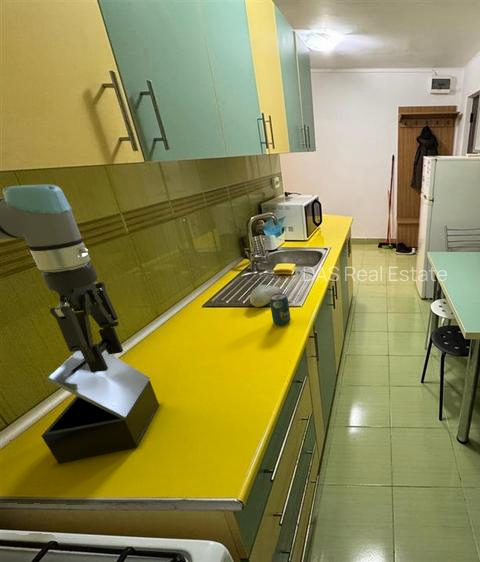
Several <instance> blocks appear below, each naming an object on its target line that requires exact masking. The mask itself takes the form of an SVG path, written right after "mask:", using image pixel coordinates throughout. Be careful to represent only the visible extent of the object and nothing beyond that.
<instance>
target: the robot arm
mask: <svg viewBox="0 0 480 562" xmlns="http://www.w3.org/2000/svg"><path fill="white" fill-rule="evenodd" d="M2 194H3V196H4V197H0V240H4V239H5V240H8V239H24V240H25V242H26V244H27V247H28V249H29V251H30V253H31V256H32V258H33V261H34V262H35V264H36V267H37V269H38V270H40V271H42V272H41V276H42V278H43V281H44V283H45V285H46V287H47V289H49V290H50V291H53V292H56V294H57V295H58V301H59V304H58V305H57V306H54V307H50V308H49V312H50V314H51V315H52V316H53V318H55V321H56V322H57V325H58V327H59V330H60V333H61V335H62V337H63V339H64V342H65V345H66V346H67V350H68V351H69V352H70V353H73V352H74V353H75V352H76V351H81V353H82V355H83V357H84V359H85V361H86V362H87V364H88V366H89V368H90V370H91V372H92V373H94V372H101V371H107V369H108V367H107V364H106V362H105V360H104V358H103V355H102V353H101V351H100V349H99V346H98V343H94V338H93V333H92V327H91V322H90V316H91V318H92V319H93V320H94V321H95V323H96V324H97V325H98V327H99V328H100V329H98V333H99V336H100V338H101V340H102V339H108V340H109V341H110V345H109V346H108V347H107V348H106V349H105V351H107V352H108V354H112V355H115V354H122V353H123V352H124V349H123V346H122V344H121V342H120V339H119V335H118V334H117V332H116V329H115V327H119V321H118V318H119V317H118V315H117V313H116V310H115V308H114V305H113V304H112V301H111V299H110V297H109V295H108V293H107V289H106V284H105V281H97V280H98V279H99V277H98V273H97V272H96V269H95V266H94V264H93V263H91V262H90V261H91V258H90V254H89V253H88V252H89V249H88V248H87V247H86V244H85V242H84V239H83V237H82V234H81V232H80V229H79V227H78V224H77V222H76V219H75V216H74V214H73V213H74V212H73V210H72V206H71V205H70V203H69V201H68V199H67V197H66V196H65V193H64V192H63V189H62V188H60V187H59V186H58V185H55V184H51V183H50V184H47V183H46V184H44V183H43V184H24V185H23V184H22V185H12V186H11V185H10V186H6V187H4V188H3V189H2ZM89 315H90V316H89Z"/></svg>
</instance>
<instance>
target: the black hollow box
mask: <svg viewBox="0 0 480 562" xmlns="http://www.w3.org/2000/svg"><path fill="white" fill-rule="evenodd" d="M159 407H160V403H159V400H158V398H157V395H156V393H155V390H154V387H153V385H152V382H151V380H150V379H149V381H148V383H147V384H146V386H145V387H144V389H143V391H142V392H141V394H140V395H139V397H138V399H137V400H136V402H135V403H134V405H133V407H132V408H131V410H130V411H129V413H128V415H127V416H126V418H124V419H121V418H119V417H117V416H115V415H113V414H111V413H109V412H107V411H105V410H103V409H101V408H99V407H98V406H96V405H94V404H92V403H90V402H88V401H86V400H84V399H82V398H80V397H78V396H76V395H75V396H74V398H73V399H72V400H71V401H70V403H69V404H68V405H67V406H66V407H65V408H64V409H63V410H62V412H61V413H60V414H59V415H58V416H57V417H56V418H55V419H54V420H53V422H52V423H51V424H50V425H49V427H48V428H47V429H45V430H44V432H43V433H42V434H40V435H41V438H42V440H43V441H44V443H45V445H46V446H47V448H48V449H49V451H50V453H51V454H52V456H53V458H54V459H55V461H56V462H57V464H64V463H69V462H75V461H79V460H84V459H88V458H93V457H99V456H104V455H108V454H112V453H118V452H123V451H128V450H133V449H137V448H138V447H139V446H140V444H141V442H142V440H143V438H144V436H145V434H146V432H147V430H148V428H149V426H150V424H151V423H152V421H153V418H154V417H155V415H156V413H157V411H158V409H159Z"/></svg>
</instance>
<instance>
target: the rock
mask: <svg viewBox="0 0 480 562" xmlns="http://www.w3.org/2000/svg"><path fill="white" fill-rule="evenodd" d="M281 290H282V289H281V288H280V286H276V285H270V284H261V285H257V286H256V287H255V288H253V290H252V291H251V292H250V294H249V302H250V304H251V305H252V306H253V307H256V308H260V307H264V306H267V305H268V304H270V300H271V296H272V295H275V294H280V293H281Z"/></svg>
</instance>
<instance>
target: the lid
mask: <svg viewBox="0 0 480 562" xmlns="http://www.w3.org/2000/svg"><path fill="white" fill-rule="evenodd" d="M97 344H98V346H99V349H100V351H101V353H102V355H103V358H104V360H105V362H106V364H107V367H108V369H107V371H101V372H94V373H92V372H91V370H90V368H89V366H88V364H87V362H86V361H85V359H84V357H83V355H82V353H81V351H74V353H72V354H71V355H70V356H69V357H68V358H67V359H66V360H65V361H64V362H63V363H61V365H60V366H58V367H57V368H56V369H55V370H54V371H52V373H51V374H49V376H47V378H45V381H47V382H49V383H51V384H53V385H55V386H56V387H59V388H61V389H63V390H65V391H66V392H68V393H71V394H73V395H74V396H75V397H76V396H78V397H80V398H82V399H84V400H86V401H88V402H90V403H92V404H94V405H96V406H98V407H99V408H101V409H103V410H105V411H107V412H109V413H111V414H113V415H115V416H117V417H119V418H121V419H124V418H126V416H127V415H128V413H129V411H130V410H131V408H132V407H133V405H134V403H135V402H136V400H137V399H138V397H139V395H140V394H141V392H142V391H143V389H144V387H145V386H146V384H147V383H148V381H149V380H150V379H151V377H150V376H148V375H146V374H145V373H143V372H141V371H140V370H138V369H136V368H135V367H133V366H132V365H130V364H128V363H126V362H125V361H123V360H122V359H120V358H118V357H117V356H115V355H114V354H108V352H107V350H106V348H107V347H108V346H109V345H110V341H109V340H108V339H102V338H101V339H100V340H99V342H98V343H97Z"/></svg>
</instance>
